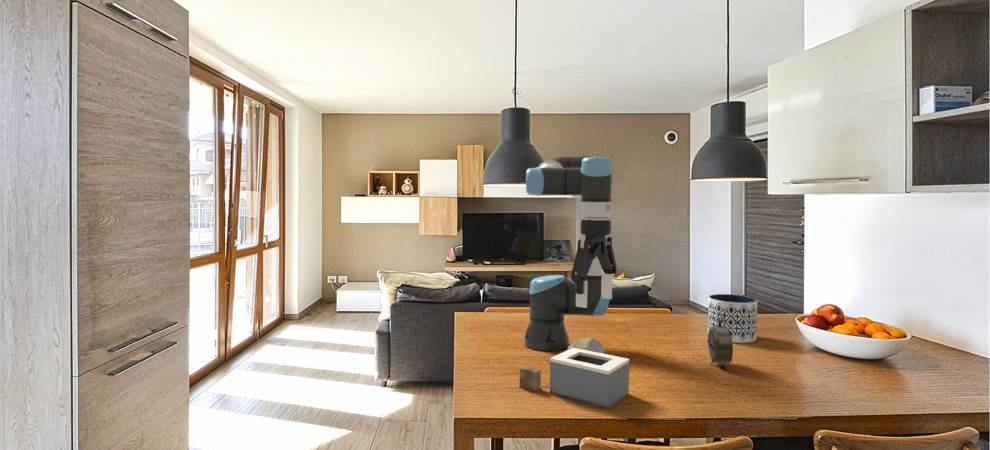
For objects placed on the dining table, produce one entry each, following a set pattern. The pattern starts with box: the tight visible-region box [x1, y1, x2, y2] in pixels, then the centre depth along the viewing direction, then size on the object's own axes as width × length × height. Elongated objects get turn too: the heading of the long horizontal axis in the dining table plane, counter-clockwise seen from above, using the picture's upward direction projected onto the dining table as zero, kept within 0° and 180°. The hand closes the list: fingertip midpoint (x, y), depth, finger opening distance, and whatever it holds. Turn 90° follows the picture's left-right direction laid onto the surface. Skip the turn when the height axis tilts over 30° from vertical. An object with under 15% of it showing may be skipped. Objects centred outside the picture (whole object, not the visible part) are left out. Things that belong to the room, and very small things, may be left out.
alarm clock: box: [706, 312, 734, 372], centre depth 153 cm, size 11×5×16 cm, turn 170°
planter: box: [707, 293, 758, 344], centre depth 185 cm, size 16×16×14 cm
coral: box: [566, 337, 605, 354], centre depth 149 cm, size 10×10×10 cm
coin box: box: [549, 348, 630, 410], centre depth 130 cm, size 16×12×9 cm
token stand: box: [519, 365, 542, 392], centre depth 134 cm, size 5×2×5 cm, turn 52°
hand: (594, 302), depth 131 cm, fingers open, 13 cm apart
